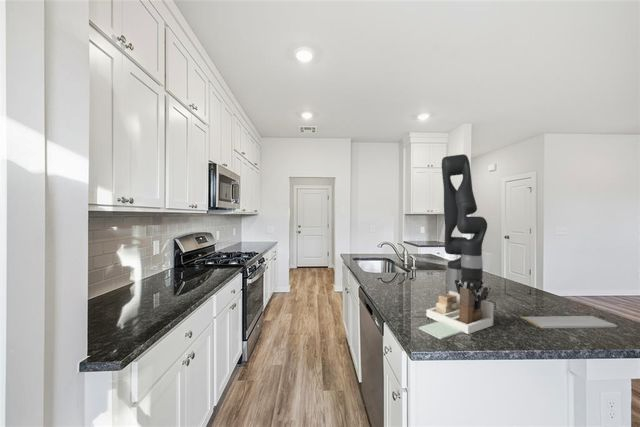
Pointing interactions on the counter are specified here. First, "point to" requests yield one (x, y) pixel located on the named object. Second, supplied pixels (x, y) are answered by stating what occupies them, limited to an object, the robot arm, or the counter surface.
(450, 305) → the offcut stack
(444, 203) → the robot arm
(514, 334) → the counter surface
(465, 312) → the wooden block
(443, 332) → the sage mat
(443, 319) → the offcut rack
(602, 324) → the baseboard
